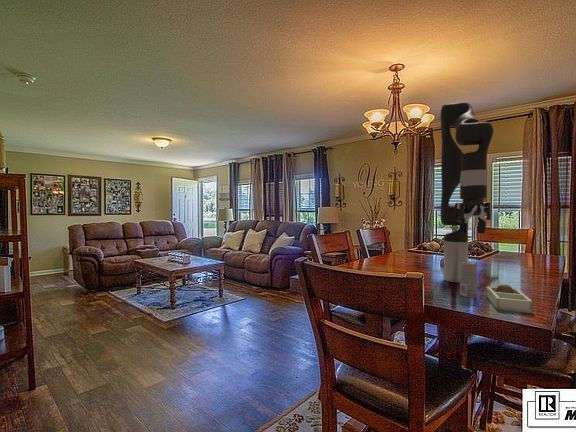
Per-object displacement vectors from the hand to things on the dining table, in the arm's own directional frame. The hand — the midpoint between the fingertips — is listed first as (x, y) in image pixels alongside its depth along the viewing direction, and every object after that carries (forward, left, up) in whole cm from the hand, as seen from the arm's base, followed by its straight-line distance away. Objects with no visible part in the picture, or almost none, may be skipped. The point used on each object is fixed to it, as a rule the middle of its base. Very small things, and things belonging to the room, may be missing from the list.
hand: (472, 234), depth 102 cm
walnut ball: (-7, +11, -22) cm, 25 cm away
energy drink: (-9, 0, -23) cm, 25 cm away
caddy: (-3, +11, -23) cm, 25 cm away
